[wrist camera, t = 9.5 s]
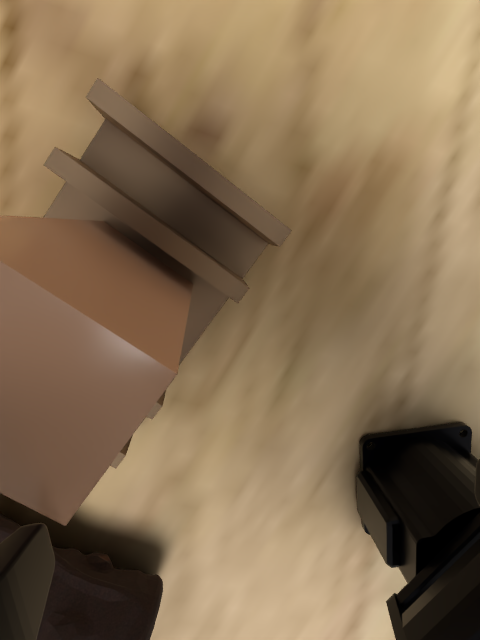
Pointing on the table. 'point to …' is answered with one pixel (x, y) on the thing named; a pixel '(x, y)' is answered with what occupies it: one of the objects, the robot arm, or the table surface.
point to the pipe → (95, 597)
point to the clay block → (78, 353)
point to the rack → (165, 209)
